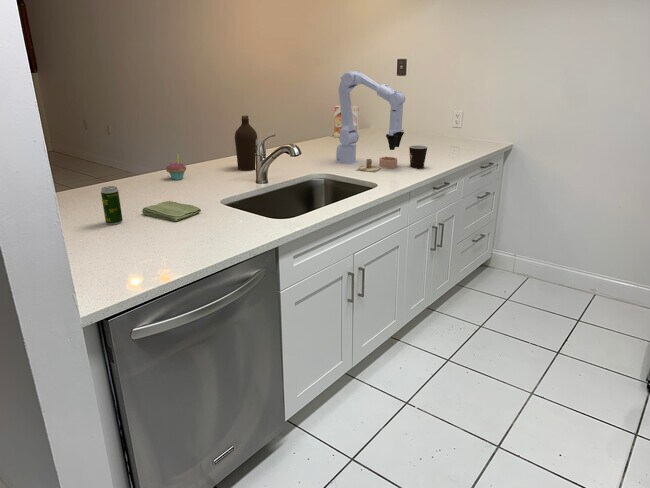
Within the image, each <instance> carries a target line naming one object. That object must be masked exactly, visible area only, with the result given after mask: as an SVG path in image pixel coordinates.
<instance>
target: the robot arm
mask: <svg viewBox="0 0 650 488" xmlns="http://www.w3.org/2000/svg"><path fill="white" fill-rule="evenodd" d="M341 75H342V76H340V81H339V82H340V83H339V86H338V98H339V106H340V108H341V117H342V128H341V130H340V137H338V139H339V140H338V141H339V143H340V144H338V145H337V146H336V150H335V151H336V153H335V154H336V158H335V159H336V160H335V163H337V164H346V165H355V164H356V163H358V162H359V160H357V159H356V158H357V155H356V154H357V142H358V141H359V137H360V136H359V132H358V133H357V131H356V128H355V126H354V125H353V117H352V108H351V106H352V100H351V91H352V90H353V89H354V88H355V87H356V86H358V85H364V86H365V87H367V88H369V89H371V90H373V91H375V92H376V95H377V96H378V97H380V98H381V99H383V100H385V101H387V102H388V104H389V105H390V111H389V126H388V127H389V128H388V133H387V134H386V135H385V137H386V139H387V142H388V147H389V150H391V151H395V149H396V148H399V147H400V145H401V141H402V138H403V136H404V134H405V129H404V128H403V127H402V126H403V111H404V104H405V101H406V96H405V94H404V93H403V92H401V91H398V90H397V89H393V88H392V87H389V84H387V83H385V84H384V83H383V84H379V83H378V82H376V81H375V80H373V79H372V78H370V77H369V76H367V75H366V74H364V72H363V73H362V72H360V71H358V70H355V71H346V72H344V73H343V74H341Z"/></svg>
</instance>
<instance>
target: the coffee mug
mask: <svg viewBox="0 0 650 488" xmlns="http://www.w3.org/2000/svg"><path fill="white" fill-rule="evenodd" d="M408 149H409V166H410V168H412V169H416V170H422V169H424V167H425V163H426V162H425V161H426V156H427V151H428V146H426V145H421V144H420V145H415V144H414V145H410V146H408Z"/></svg>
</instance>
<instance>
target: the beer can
mask: <svg viewBox="0 0 650 488" xmlns="http://www.w3.org/2000/svg"><path fill="white" fill-rule="evenodd" d="M100 197H101V201H102V209H103V214H104V219H105V220H104V221H105V223H106V224H107V225H109V226H116V225H117V226H118V225H120V224H122V223H123V213H122V212H123V211H122V206H121V201H120V194H119V189H118V187H117V186H115V185H111V186H109V185H108V186H103V187H101V189H100Z"/></svg>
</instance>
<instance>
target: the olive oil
mask: <svg viewBox="0 0 650 488" xmlns="http://www.w3.org/2000/svg"><path fill="white" fill-rule="evenodd" d="M234 144H235V145H234V146H235V151H236V152H235V154H236V162H237V170H239V171H244V172H245V171H246V172H249V171H255V148H256V145H257V146H258V134H257V131H256V129H254V127H252V126H251V124H250V120H249V115H247V114H244V115H241V124H240V125H239V127H238V128H237V129H236V130H235V133H234Z"/></svg>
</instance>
